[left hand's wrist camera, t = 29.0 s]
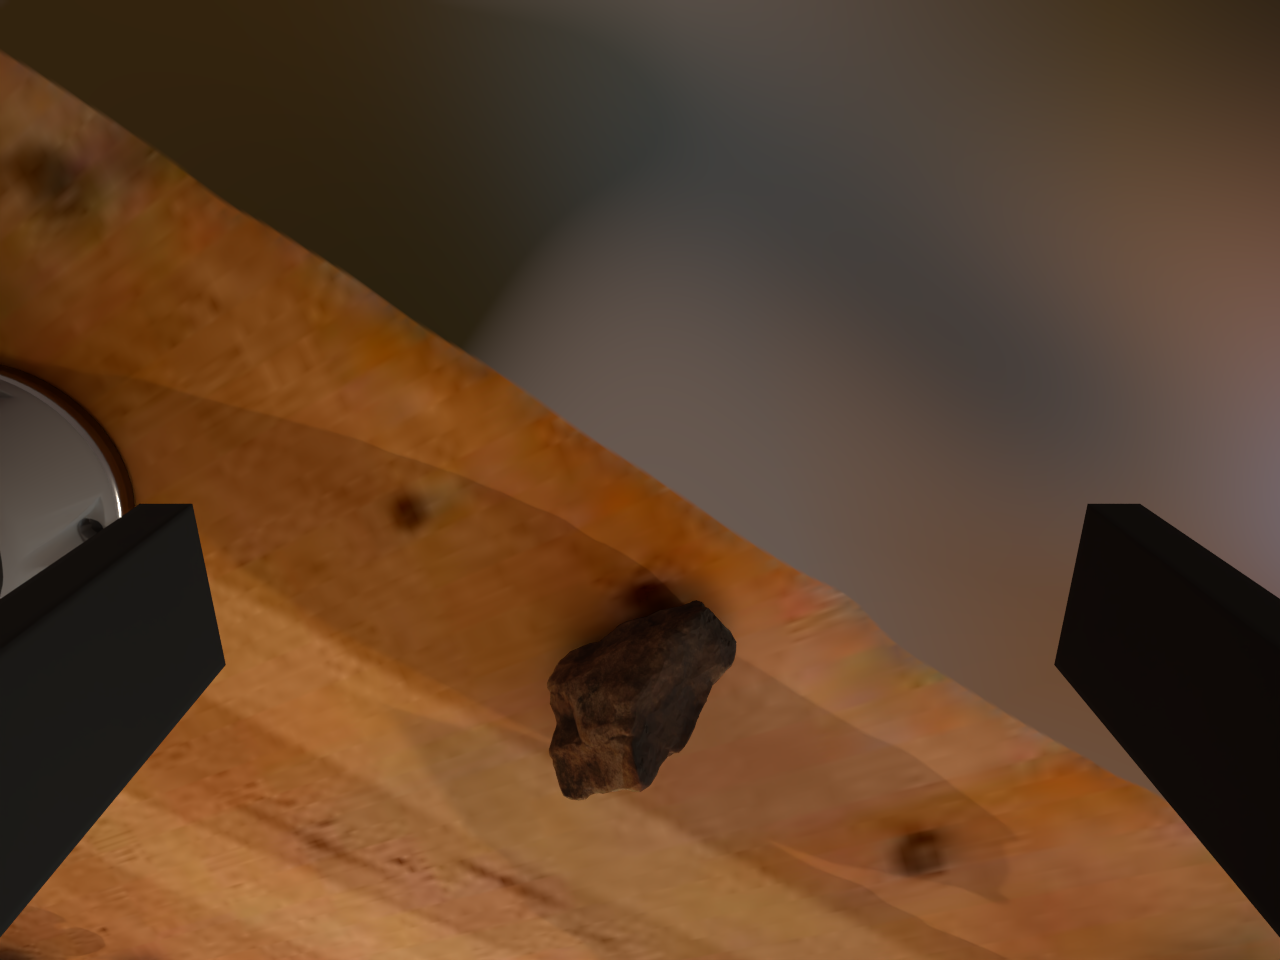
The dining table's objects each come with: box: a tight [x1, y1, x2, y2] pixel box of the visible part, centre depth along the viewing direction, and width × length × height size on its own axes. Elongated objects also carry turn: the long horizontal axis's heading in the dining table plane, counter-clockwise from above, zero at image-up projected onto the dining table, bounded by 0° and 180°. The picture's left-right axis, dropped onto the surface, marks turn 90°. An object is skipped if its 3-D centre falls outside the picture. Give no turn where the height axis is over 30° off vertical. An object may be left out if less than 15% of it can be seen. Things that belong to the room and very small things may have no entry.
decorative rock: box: [547, 600, 736, 800], centre depth 49 cm, size 12×6×11 cm, turn 117°
